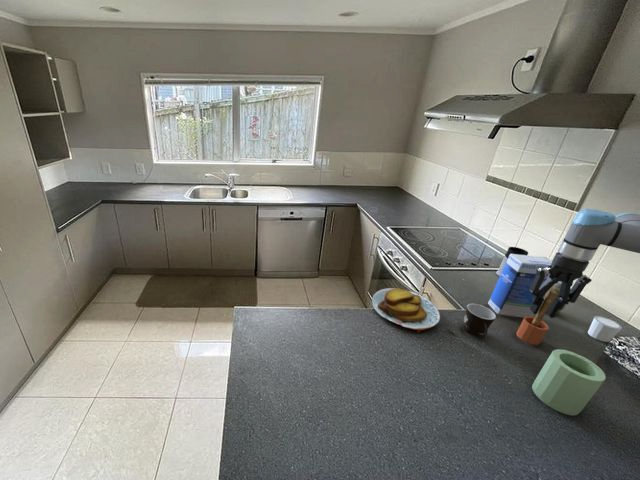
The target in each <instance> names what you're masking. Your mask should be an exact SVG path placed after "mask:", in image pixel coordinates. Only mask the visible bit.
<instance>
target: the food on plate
mask: <svg viewBox="0 0 640 480" xmlns="http://www.w3.org/2000/svg"><path fill="white" fill-rule="evenodd" d="M371 304H372V307H373V308H374V311H375V312H377V314H378V315H379V316H380V317H382V318H383V319H384V318H385V319H386V320H388V321H390V322H392V323H395V324H397V325H400V326H402V327H404V328H406V329H411V330H412V331H415V330H416V332H417V333H419V334H420V333H421V331H425V330H427V329H431V328H433V327H435V326H437V325H438V324H439V322H440V319H441V313H440V311H439V309H438V308H437V306H436V305H435V304H434V303H433V302H432V301H430V300H429V299H428V298H425V297H424V296H422V295H421V294H419V293H417V292H414V291H410V290H407V289H403V288H396V287H386V288H381V289H380V290H378V291H376V292H374V294H373V295H372V298H371ZM392 327H393V328H394V327H395V325H393V326H392Z"/></svg>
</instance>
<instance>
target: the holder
mask: <svg viewBox="0 0 640 480" xmlns="http://www.w3.org/2000/svg"><path fill="white" fill-rule="evenodd" d="M510 254H518V255H528V256H529V252H528V251H527V250H526V249H525V248H524V249H523V248H520V247H516V246H509V247H508V248H507V251H506V253H505V254H504V256H503V258H502V261H501V262H500V265H499V268H498V270H497V271H495V274H496V275H497V276H499V277H500V276H501V273H502V271H503V269H504V267H505V264H506V262H507V260H508V258H509V255H510Z"/></svg>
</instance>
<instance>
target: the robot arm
mask: <svg viewBox="0 0 640 480" xmlns="http://www.w3.org/2000/svg"><path fill="white" fill-rule="evenodd" d="M601 245H602V246H606V247H611V248H615V249H619V250H623V251H628V252H631V253H636V254H640V214H638V213H634V212H623V213H618V214H616V215H615V214H613V213H611V212H608V211H604V210H599V209H594V208H584V209H581V210H579V211H578V212H577V214H576V215H575V218H574V219H573V220H572V221H571V224H570V226H569V228H568V230H567V232H566V234H565V236H564V237H563V240H562V241H561V243H560V245H559V247H558V249H557V252H555V254H554V256H553V258H552V260H551V261H552V264H551V265H550V266H548V268H540V267H537V268H536V272H537V273H536V276H535V278H534V280H533V282H532V284H531V286H530V289H529V291H530V292H531V293H532V294H533V295H534V296H533V299H532V300H531V302H532V303H533V304H532V306H531V308H530V310H531V311H532V312H533V314H535V315H536V314H537V312H538V311H539V309H540V306H541V305H542V303H543V301H544V298H543V296H544V295H545V294H546V293H547V292H548V291H549V289H550V288H551V287H552V286H553V285H554V284H557V283H558V282H559V281H562V284H561V288H560V293H559V299H558V298H555V299H554V300H553V302H552V304H551V306H550V307H549V309H548V311H547V312H546V314H547V315H548V316H549V317H550V319H551V318H552V319H554V318H555V316H556V315H557V314H558V313H557V311H558V309H559V310H561V309H562V307H563V306H564V304H566V305H569V303H571V304H574V303H575V302H576V301H577V299H578V298H579V296H580V295H581V294H582V292H583V291H584V289H585V288H586V286H587V285H589V284H590V283H591V282H592V279H591V278H590V277H589V276H587V275H586V274H583V272H585V271H586V269H587V268H588V266H589V265H590V261H592V260H593V258H594V256H595V254H596V252H597V250H598V249H599V247H600V246H601ZM547 272H549V275H548V276H547V279H546V280H545V281H544V282H543V280H544V278H545V275H547ZM574 281H575V282H574ZM542 282H543V283H542ZM561 311H562V310H561ZM556 313H557V314H556Z"/></svg>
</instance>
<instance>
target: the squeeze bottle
mask: <svg viewBox="0 0 640 480" xmlns="http://www.w3.org/2000/svg"><path fill="white" fill-rule="evenodd" d="M561 284H562V281H559V282H558V283H557V284H554V285H553V286H552V287H551V288H550V289H549V290H553V291H556V292H557V293H556V295H555V297H554V299H555V298H558V299H559V293H560V288H561ZM548 292H549V291H548ZM548 292H547V293H546V294H545V296H544V300H545V298H546V296H547V294H548ZM554 299H553V300H554ZM552 302H553V301H552ZM552 302H551V304H552ZM551 304H550V306H551ZM566 305H567V304H564V306H563V307H562V309H561V310H559V309H558V311H557V313H556V315H557V314H558V313H559V312H561V311H563V310H564V309H565V308H566ZM550 306H549V307H550ZM540 307H541V306H540ZM548 309H549V308H548ZM548 309H547V311H548ZM547 311H546V313H547Z"/></svg>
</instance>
